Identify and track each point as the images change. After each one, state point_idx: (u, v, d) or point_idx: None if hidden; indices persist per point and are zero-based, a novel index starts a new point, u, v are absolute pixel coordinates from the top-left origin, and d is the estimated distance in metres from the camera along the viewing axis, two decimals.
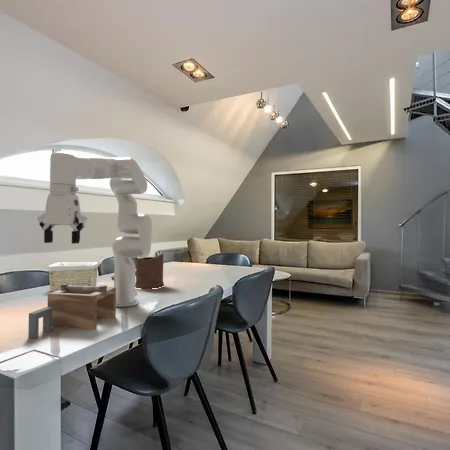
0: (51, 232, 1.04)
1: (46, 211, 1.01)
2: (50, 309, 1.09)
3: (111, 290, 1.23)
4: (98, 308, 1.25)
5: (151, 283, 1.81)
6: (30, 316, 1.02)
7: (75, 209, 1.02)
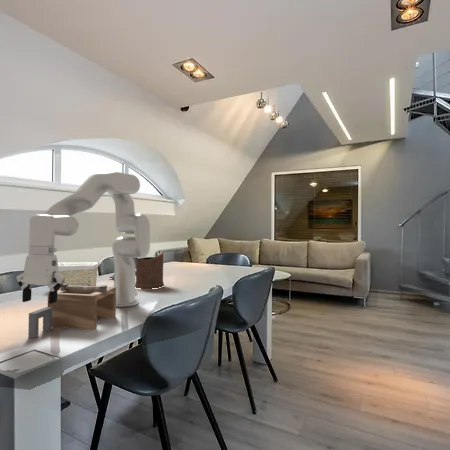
0: (30, 290, 1.07)
1: (24, 271, 1.04)
2: (50, 309, 1.09)
3: (111, 290, 1.23)
4: (98, 308, 1.25)
5: (151, 283, 1.81)
6: (30, 316, 1.02)
7: (53, 269, 1.05)
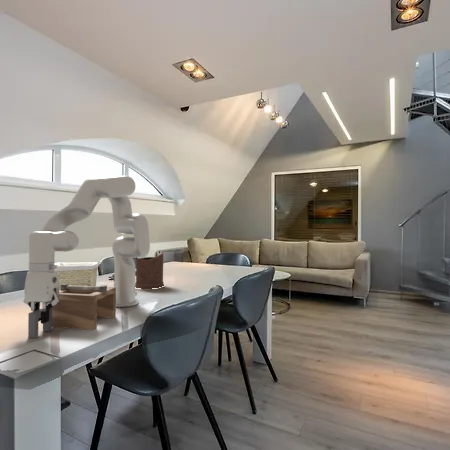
0: None
1: (25, 288, 1.04)
2: (50, 309, 1.09)
3: (111, 290, 1.23)
4: (98, 308, 1.25)
5: (151, 283, 1.81)
6: (30, 316, 1.02)
7: (54, 286, 1.05)
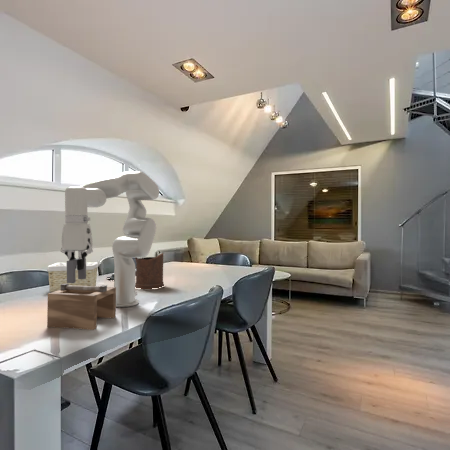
0: None
1: (62, 239, 1.16)
2: (84, 259, 1.20)
3: (111, 290, 1.23)
4: (98, 308, 1.25)
5: (151, 283, 1.81)
6: (68, 263, 1.13)
7: (88, 236, 1.16)
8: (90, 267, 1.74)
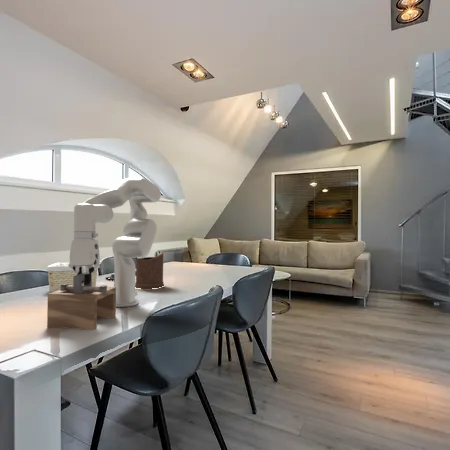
0: None
1: (70, 254, 1.18)
2: None
3: (111, 290, 1.23)
4: (98, 308, 1.25)
5: (151, 283, 1.81)
6: (74, 278, 1.15)
7: (95, 252, 1.19)
8: None
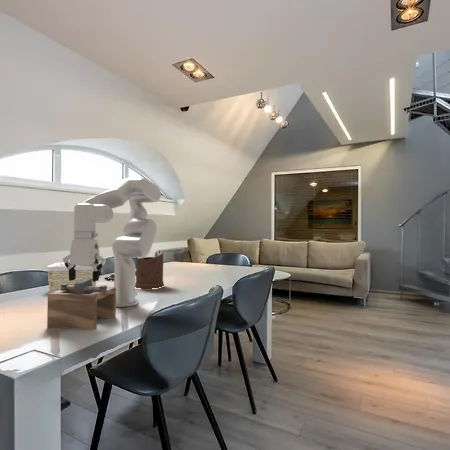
0: (74, 271, 1.21)
1: (70, 254, 1.18)
2: (90, 280, 1.22)
3: (111, 290, 1.23)
4: (98, 308, 1.25)
5: (151, 283, 1.81)
6: (75, 286, 1.16)
7: (95, 252, 1.19)
8: (90, 267, 1.73)
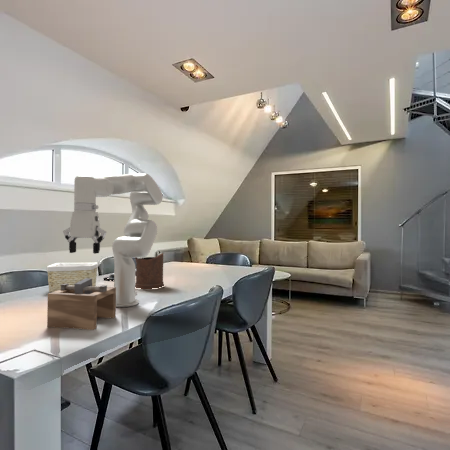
0: (75, 243, 1.22)
1: (71, 226, 1.19)
2: (90, 280, 1.22)
3: (111, 290, 1.23)
4: (98, 308, 1.25)
5: (151, 283, 1.81)
6: (75, 286, 1.16)
7: (96, 224, 1.19)
8: (89, 267, 1.73)
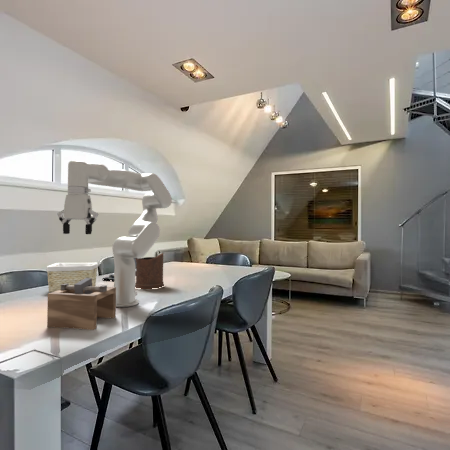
0: (68, 225, 1.28)
1: (65, 208, 1.25)
2: (90, 280, 1.22)
3: (111, 290, 1.23)
4: (98, 308, 1.25)
5: (151, 283, 1.81)
6: (75, 287, 1.16)
7: (88, 206, 1.26)
8: (89, 267, 1.72)
